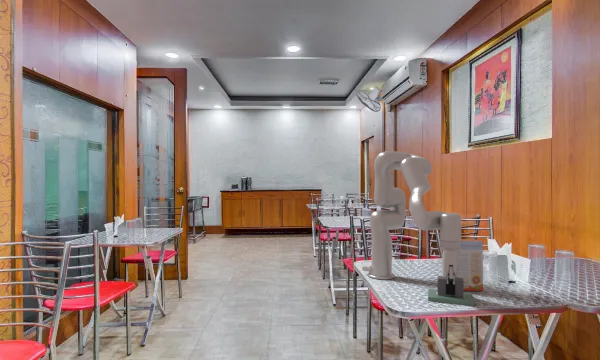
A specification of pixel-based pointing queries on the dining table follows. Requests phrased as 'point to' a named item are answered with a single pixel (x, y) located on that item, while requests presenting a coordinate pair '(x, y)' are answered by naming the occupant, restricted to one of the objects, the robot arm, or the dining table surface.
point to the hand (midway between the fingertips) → (450, 292)
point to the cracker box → (471, 264)
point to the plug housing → (458, 286)
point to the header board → (451, 298)
